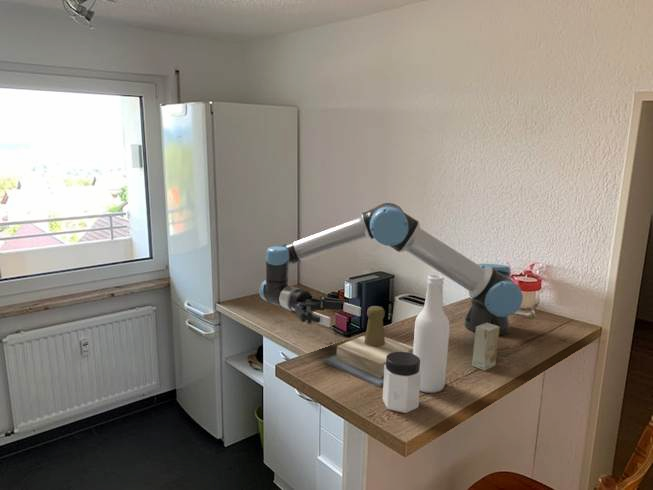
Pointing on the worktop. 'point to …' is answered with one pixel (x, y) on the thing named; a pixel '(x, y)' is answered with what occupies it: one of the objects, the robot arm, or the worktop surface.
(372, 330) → the cork
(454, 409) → the worktop surface
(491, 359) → the skincare box
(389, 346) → the plinth
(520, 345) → the worktop surface
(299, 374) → the worktop surface
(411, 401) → the jar
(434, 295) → the alcohol
